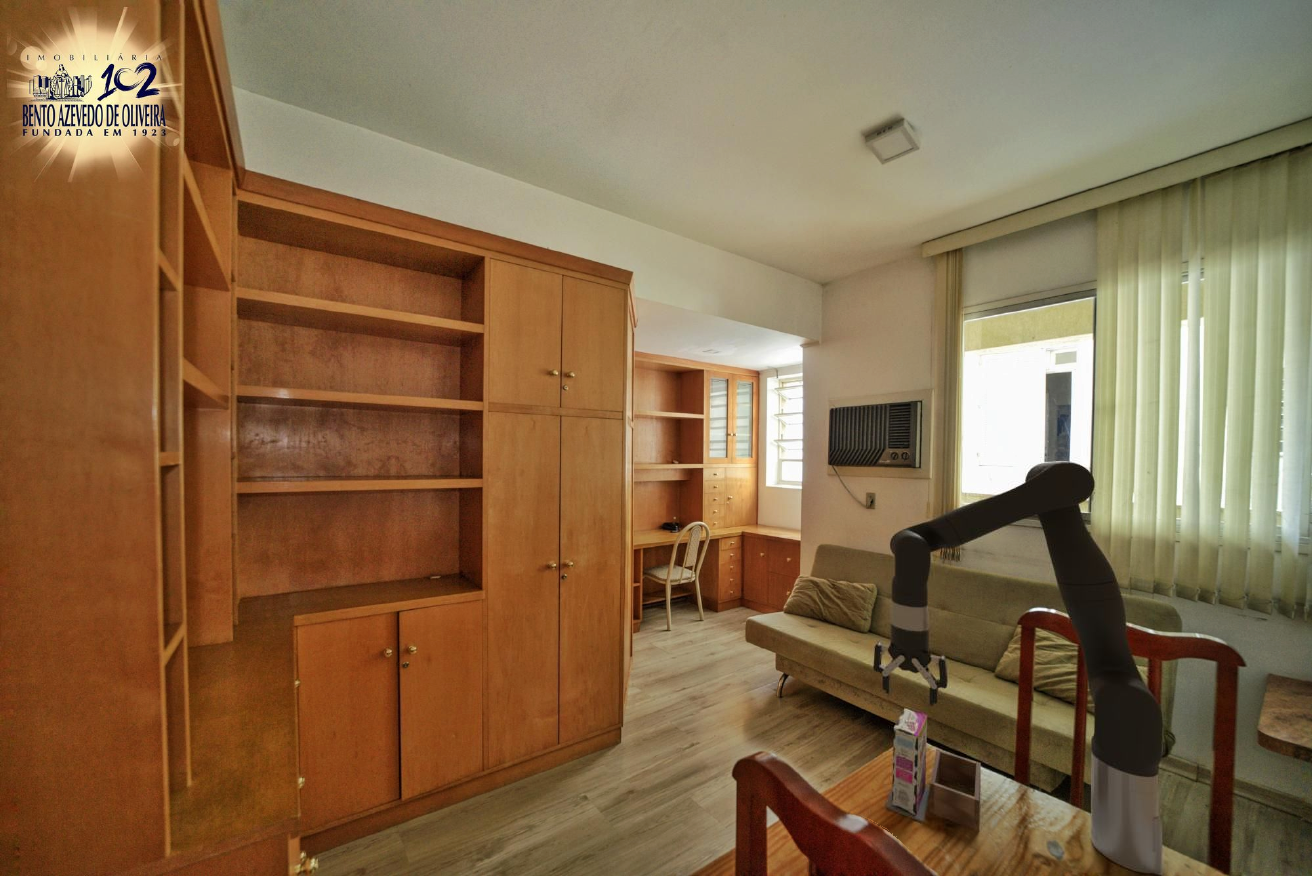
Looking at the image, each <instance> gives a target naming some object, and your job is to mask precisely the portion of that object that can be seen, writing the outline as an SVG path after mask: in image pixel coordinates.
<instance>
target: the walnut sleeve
mask: <svg viewBox="0 0 1312 876" xmlns="http://www.w3.org/2000/svg"><path fill="white" fill-rule="evenodd" d="M981 765H982V763H981V762H979V761H976V760H972V759H969V758H966V757H964V756H959V755H956V754H954V753H950V752H947V751H944V750H941V749H938V748H936V751H935V755H934V762H933V765H932V766H933V767H932V772H931V775H930V782H929V788H930V792H929V813H931V814H933V815H936V816H938V817H941V818H943V819H946V820H949V821H951V822H954V823H956V824H959V825H961V826H964V827H967V828H970V829H972V830H974V831H976V832H980V815H981V813H980V812H981V790H982V789H981V786H982V785H981V782H982V781H981V779H982V778H981V776H982V774H981V773H982V772H981V771H982V770H981V768H982V766H981ZM941 779H942V780H944V781H947V782H951V783H953V784H955V785H959V786H962V787H964V788H967V789H971V790H973V791H974V796H973V795H970V794H967V793H964V792H962V791H959V790H956V789H953V788H950V787H948V786H945V785H942V784H940V781H941Z"/></svg>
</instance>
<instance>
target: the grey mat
mask: <svg viewBox="0 0 1312 876" xmlns="http://www.w3.org/2000/svg"><path fill="white" fill-rule="evenodd" d="M929 798H930V787H927V786H925V790H924V793H923V796H922V799H921V802H920V805H919V808H918V811H917V814H916V815H913V814H910V813H908V812H906V811H904V810H902V809H899V808H897V807H895V806H893V805H892V787H891V788H890V791H889V795H888V798H887V802H886V805H885V808H886V809H887V810H891V811H892V812H896V813H897V814H900V815H903V816H905V817H906V818H910V819H913V820H915V821H918V822H920V823H922V824H924V823H925V817H926V813H927V809H928V801H929Z"/></svg>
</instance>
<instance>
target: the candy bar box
mask: <svg viewBox="0 0 1312 876" xmlns="http://www.w3.org/2000/svg"><path fill="white" fill-rule="evenodd" d="M927 735H928V714H924V713H921V712H918V711H914V710H911V709H909V708H906V707H904V709H903V711H902V712H901V714H900V716H899V717H898V720H897V721H896V723H895V725H894V726H893V744H892V745H893V747H892V749H893V750H892V751H893V752H892V754H893V755H892V783H891V784H892V786H891V788H892V805H893V806H895V807H897V808H899V809H902V810H904V811H906V812H908V813H910V814H913V815H916V814H917V811H918V808H919V805H920V802H921V799H922V796H923V793H924V790H925V786H926V783H927V782H926V779H927V778H926V775H927V773H926V772H927V769H926V768H927V737H928V736H927ZM926 787H927V786H926Z"/></svg>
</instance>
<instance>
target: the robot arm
mask: <svg viewBox="0 0 1312 876" xmlns="http://www.w3.org/2000/svg"><path fill="white" fill-rule="evenodd" d="M1095 484H1096V482H1095V478H1094V476H1093V473H1091V472H1090V470H1089V469H1088V468H1086V467H1085V466H1083V465H1082V464H1079V463H1076V462H1072V461H1065V460H1058V461H1057V460H1056V461H1050V462H1049V461H1048V462H1041V463H1038V464H1036V465H1034V466H1032V468H1030V470H1029V471H1027V474H1026V476H1025V480H1024V482H1023V483H1022V484H1020V485H1018V486H1015V487H1013V488H1011V489H1009V490H1007V491H1004V492H1001V493H999V494H997V495H992V496H990V497H986V498H983V499H980V500H977V501H974V502H971V503H969V504H965V505H963V506H960V507H957V508H955V509H953V510H950V511H949V512H946V513H944V514H942V515H939V516H938V517H936V518H934V519H931V520H929V521H925V522H922V523H918V524H914V525H911V526H909V527H906V528H903V529H901V530H899V531H897V532H896V533H894V534H893V536H892V537H891V538H890V542H889V549H890V551H891V553H892V554H893V556H894V576H893V578H892V581H891V603H890V604H891V606H890V615H889V621H890V628H889V629H890V634H889V635H890V644H889V645H886V644H883V642H882V641H877V642H876V644H875V645H874V651H873V652H874V654H873V665H872V666H873V667H872V668H873V671H874V672H876V673H879V674H881V676H882V689H883V691H885V694H887V695H890V693H891V690H892V689H891V686H892V682H891V681H892V680H891V673H892V672H893V671H895V670H896V669H897V668H899V669H900V670H901V671H905V672H907V671H908V672H911V673H913V674H918V673H920V675H921V676H922V678H923V679H924V680H926V682H927V684H928V685H929V706H932V707H935V706H934V705H937V704H938V701H939V700H938V698H939V693H938V692H939V689H947V688H948V683H949V681H948V666H947V657H946V656H945V655H944V654H943V655H942V654H941V655H939V656H938V655H937V656H936V655H932V654H931V652H930V614H929V608H928V607H929V606H928V605H929V603H928V601H929V598H928V597H929V595H928V594H929V591H928V581H929V576H930V571H931V570H930V569H931V563H932V555H931V554H932V553H933V552H936V551H938V550H939V551H940V550H941V549H943V550H944V549H945V550H946V549H947V550H949V549H954V548H957V547H960V546H963V545H965V544H967V543H971V542H972V541H974V540H977V539H979V538H981V537H983V536H986V535H989V534H992V533H993V532H995V531H998V530H1000V529H1003V528H1005V527H1008V526H1010V525H1012V524H1014V523H1017V522H1019V521H1023V520H1025V519H1028V518H1032V517H1034V516H1037V518H1038V520H1039V522H1040V526H1041V527H1042V528H1041V529H1042V531H1043V534H1044V538H1045V541H1046V542H1045V543H1046V546H1047V551H1048V553H1049V558H1050V561H1051V564H1052V567H1053V571H1054V576H1055V580H1056V583H1057V586H1058V590H1059V594H1060V596H1061V600H1062V602H1063V605H1064V607H1065V611H1066V613H1067V615H1068V618H1069V620H1070V622H1071V625H1072V627H1073V629H1074V631H1075V634H1076V636H1077V638H1078V640H1079V643H1080V645H1081V650H1082V654H1083V658H1084V659H1083V660H1084V663H1085V669H1086V675H1087V683H1088V684H1087V685H1088V690H1089V695H1090V696H1091V700H1092V702H1093V705H1094V706H1093V707H1094V711H1093V712H1094V713H1093V714H1094V722H1093V724H1094V726H1093V727H1094V728H1093V729H1094V730H1093V735H1092V736H1091V740H1090V746H1091V747H1090V755H1091V756H1090V762H1091V763H1090V769H1091V770H1090V776H1091V777H1090V779H1091V780H1090V789H1091V790H1090V796H1091V797H1090V798H1091V799H1090V814H1091V815H1090V818H1091V819H1090V836H1091V837H1090V840H1091V842H1092V845H1093V846H1094V847H1095V848H1096V850H1097V851H1098V852H1100V853H1101V854H1102V855H1103V856H1105V857H1106V858H1107V859H1109V860H1110V861H1112V862H1114V863H1115V864H1117V865H1119V866H1122V868H1124V869H1125V868H1126V869H1129V870H1130V871H1134V872H1137V873H1142V874H1155V875H1158V876H1160V875H1162V876H1163V822H1162V820H1161V818H1160V815H1159V765H1160V764H1161V761H1162V759H1163V758H1162V757H1163V737H1164V736H1163V735H1164V731H1163V730H1164V729H1163V728H1164V727H1163V726H1164V723H1163V720H1164V719H1163V718H1164V717H1163V711H1162V708H1161V705H1160V704H1159V702H1158V700H1157V699H1156V697H1155V696H1154V695H1153V693H1152V691H1151V690H1150V689H1149V688H1148V686H1147V684H1146V682H1145V681H1144V679H1143V677H1142V675H1141V672H1140V670H1139V668H1138V666H1137V664H1136V661H1135V659H1134V656H1133V654H1132V652H1131V649H1130V646H1129V645H1130V644H1129V642H1128V634H1127V633H1128V632H1127V619H1126V610H1125V604H1124V599H1123V595H1122V592H1121V590H1120V587H1119V583H1118V581H1117V577H1116V575H1115V572H1114V569H1113V567H1112V565H1111V564H1110V562H1109V561H1108V558H1107V557H1106V555H1105V554H1104V552H1103V551H1102V549H1101V548H1100V547H1099V545H1098V544H1097V541H1095V540H1094V538H1093V537H1092V535H1091V534H1090V532H1089V530H1088V528H1087V526H1086V523H1085V522H1084V519H1083V515H1082V512H1081V507H1080V505H1081V504H1082V503H1084V502H1086V501H1087V500H1088V499H1089V498H1090V497H1091V496H1092V495H1093V493H1094V491H1095V486H1096V485H1095ZM886 652H887V653H888V655H889V656H890V658H891V659H892V660H890V661H889V663H888V664H886V666H884V665H882V659H883V658H882V657H883V655H885V653H886ZM932 662H933V663H934V666H935V667H936V668H938V671H939V678H938V679H937V678H936V677H935V675H934V674H933V672H932V670H931V669H930V667H929V665H930V663H932Z"/></svg>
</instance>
